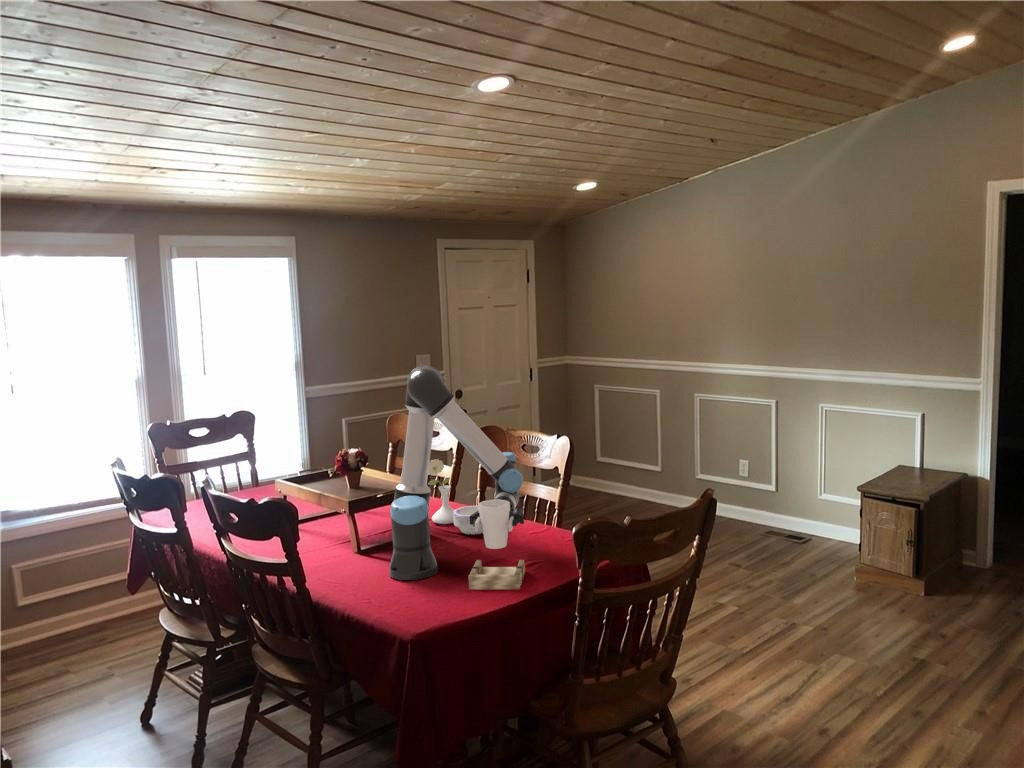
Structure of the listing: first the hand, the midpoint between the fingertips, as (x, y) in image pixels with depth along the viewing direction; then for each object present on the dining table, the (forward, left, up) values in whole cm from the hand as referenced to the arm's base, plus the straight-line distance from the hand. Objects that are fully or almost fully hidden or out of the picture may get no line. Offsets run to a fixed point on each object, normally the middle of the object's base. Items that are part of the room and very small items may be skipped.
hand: (492, 527), depth 236 cm
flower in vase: (-30, +67, -18) cm, 76 cm away
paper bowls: (-16, +55, -18) cm, 60 cm away
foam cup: (0, +4, -7) cm, 8 cm away
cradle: (0, +4, -18) cm, 18 cm away
